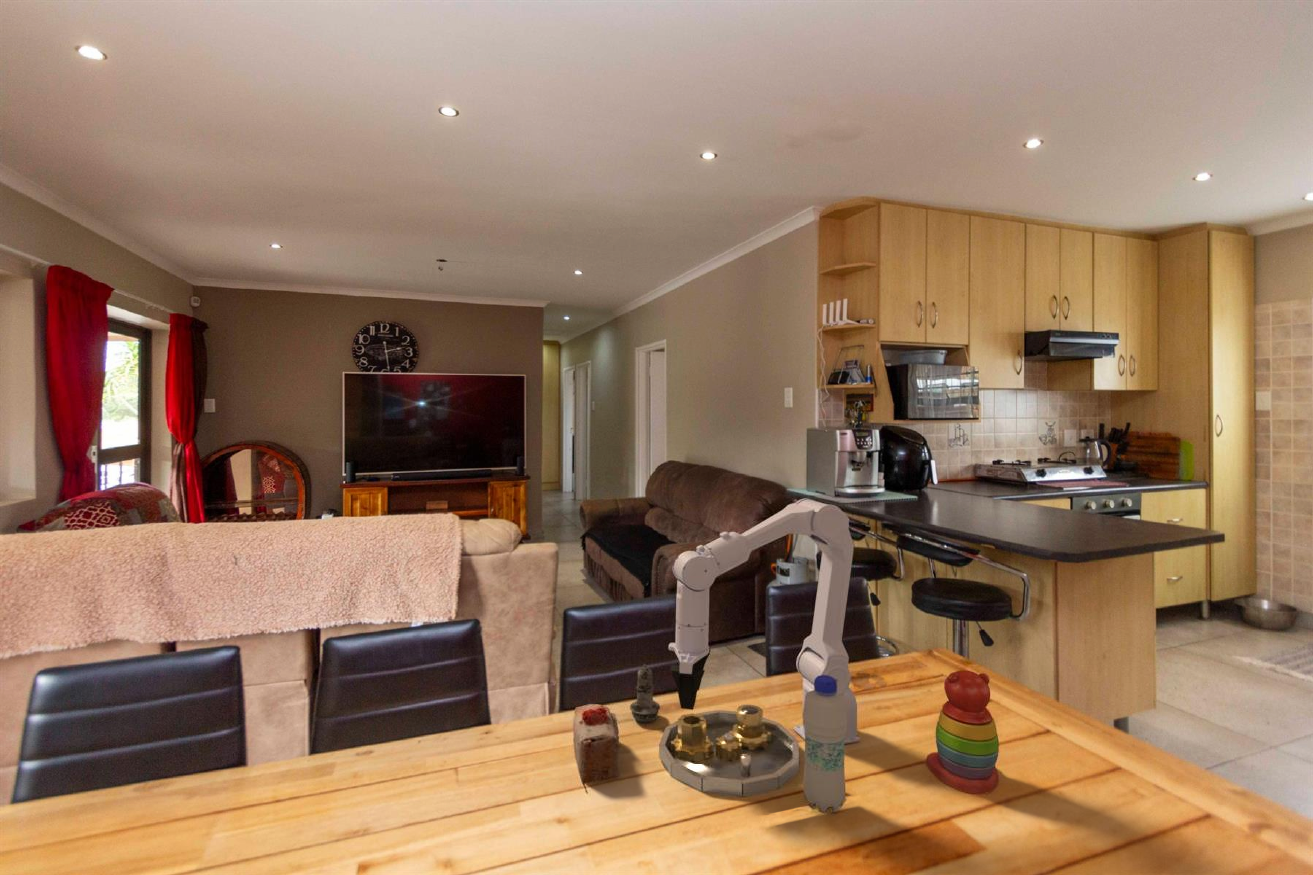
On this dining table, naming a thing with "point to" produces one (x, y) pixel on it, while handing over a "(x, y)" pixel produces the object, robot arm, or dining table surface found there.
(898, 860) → the dining table surface
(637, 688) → the grey chess piece
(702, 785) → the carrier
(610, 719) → the food item
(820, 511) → the robot arm
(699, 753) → the planet gear
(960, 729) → the stacking bear
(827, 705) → the bottle
